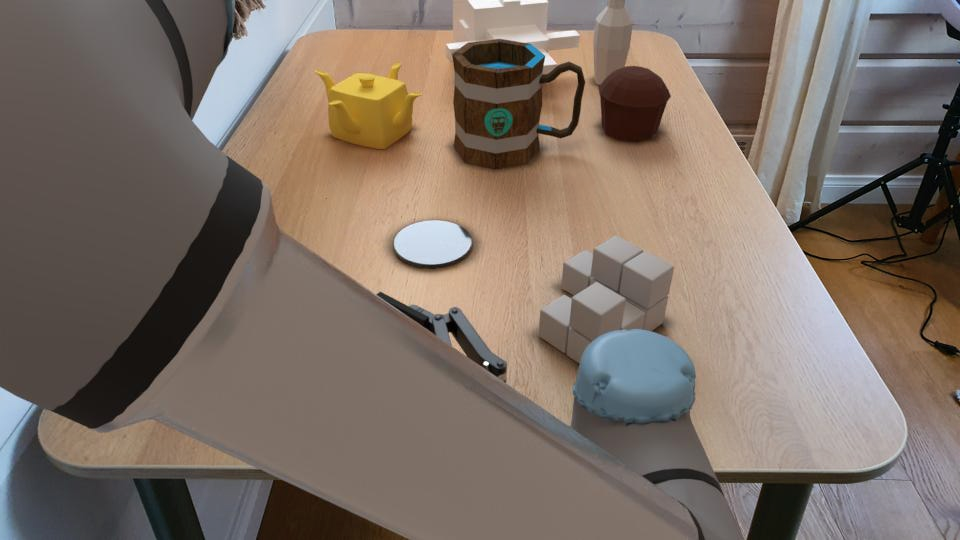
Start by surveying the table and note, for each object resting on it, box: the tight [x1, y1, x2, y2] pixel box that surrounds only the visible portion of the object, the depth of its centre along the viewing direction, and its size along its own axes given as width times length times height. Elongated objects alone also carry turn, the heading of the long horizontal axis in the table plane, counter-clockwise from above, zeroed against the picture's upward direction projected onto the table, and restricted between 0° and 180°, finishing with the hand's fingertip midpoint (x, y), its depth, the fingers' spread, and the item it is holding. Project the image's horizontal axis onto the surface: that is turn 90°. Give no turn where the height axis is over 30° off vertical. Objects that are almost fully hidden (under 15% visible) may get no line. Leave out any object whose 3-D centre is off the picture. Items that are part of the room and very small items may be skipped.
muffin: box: [597, 65, 672, 143], centre depth 118 cm, size 12×11×10 cm
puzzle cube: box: [538, 235, 675, 365], centre depth 80 cm, size 12×12×8 cm
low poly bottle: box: [592, 0, 634, 86], centre depth 130 cm, size 6×6×22 cm
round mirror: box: [393, 219, 473, 269], centre depth 94 cm, size 10×10×1 cm
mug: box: [452, 39, 586, 170], centre depth 111 cm, size 20×14×15 cm
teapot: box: [314, 61, 423, 150], centre depth 117 cm, size 15×14×10 cm
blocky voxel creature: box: [445, 0, 581, 74], centre depth 136 cm, size 15×25×28 cm
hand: (329, 338), depth 71 cm, fingers open, 13 cm apart
